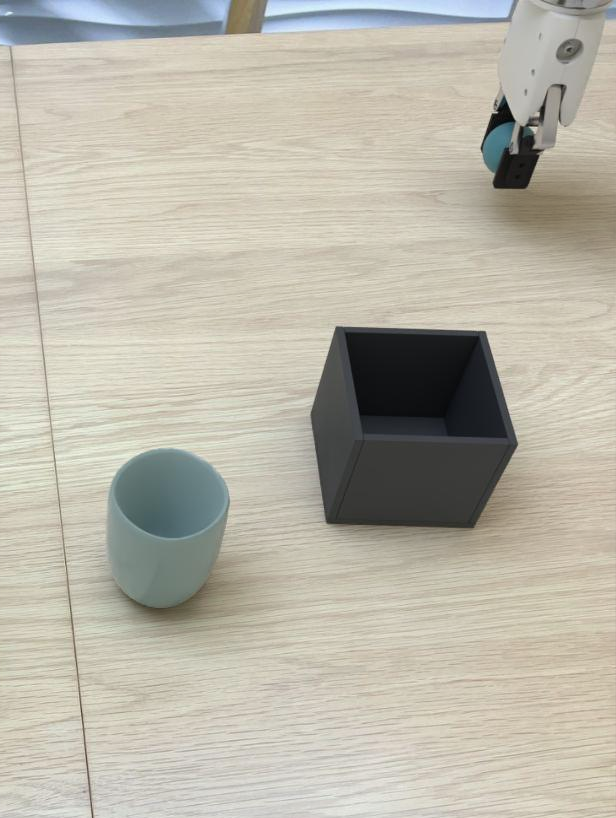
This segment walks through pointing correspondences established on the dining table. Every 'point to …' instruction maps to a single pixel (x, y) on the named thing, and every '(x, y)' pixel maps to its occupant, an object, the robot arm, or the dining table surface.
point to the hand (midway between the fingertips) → (503, 167)
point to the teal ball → (499, 144)
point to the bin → (410, 427)
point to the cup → (165, 525)
